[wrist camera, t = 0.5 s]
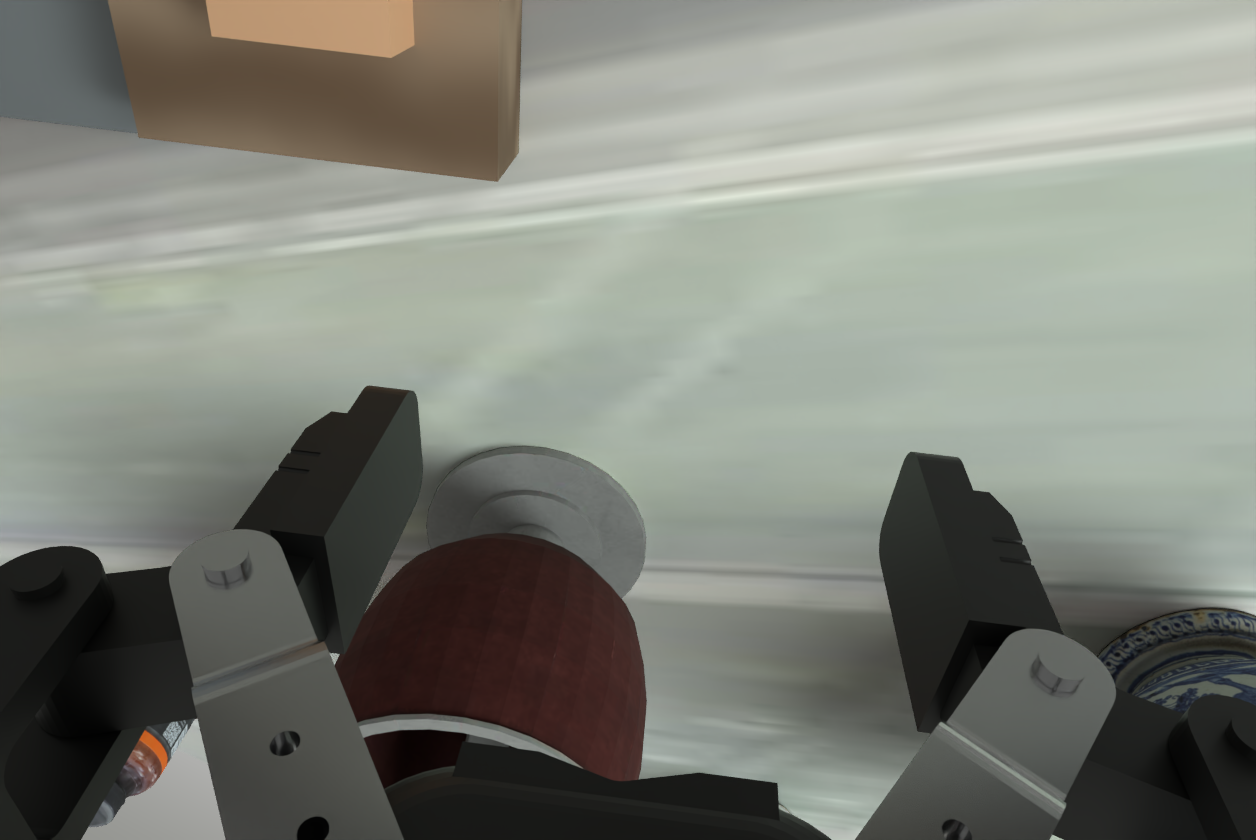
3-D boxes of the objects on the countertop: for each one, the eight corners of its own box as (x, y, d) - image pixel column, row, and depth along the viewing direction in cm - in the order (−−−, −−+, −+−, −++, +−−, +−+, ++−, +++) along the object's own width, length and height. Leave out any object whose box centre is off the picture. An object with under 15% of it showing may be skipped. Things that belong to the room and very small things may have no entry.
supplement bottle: (121, 635, 55) (-3, 793, 45) (175, 602, 52) (56, 761, 43) (193, 688, 57) (89, 848, 48) (248, 658, 55) (150, 821, 45)
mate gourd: (414, 413, 43) (221, 754, 26) (680, 457, 43) (656, 826, 26) (416, 620, 51) (271, 977, 35) (637, 657, 51) (598, 1032, 35)
